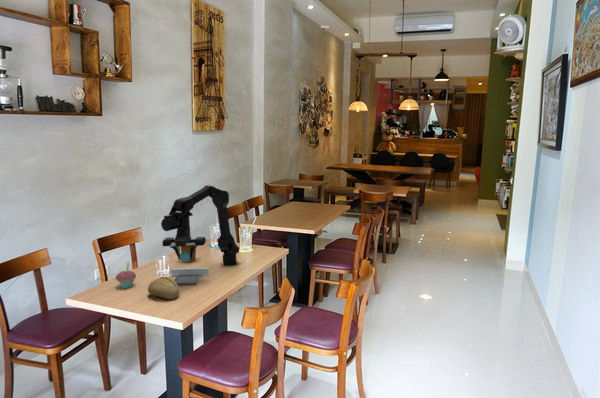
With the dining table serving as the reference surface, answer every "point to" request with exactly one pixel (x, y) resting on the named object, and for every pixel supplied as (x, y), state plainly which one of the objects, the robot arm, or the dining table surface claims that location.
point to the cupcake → (126, 278)
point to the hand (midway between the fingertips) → (185, 259)
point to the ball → (185, 256)
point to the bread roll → (164, 288)
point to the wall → (190, 271)
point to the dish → (187, 279)
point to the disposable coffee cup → (187, 248)
